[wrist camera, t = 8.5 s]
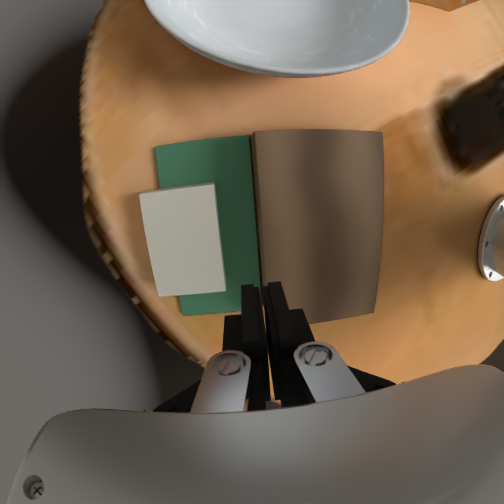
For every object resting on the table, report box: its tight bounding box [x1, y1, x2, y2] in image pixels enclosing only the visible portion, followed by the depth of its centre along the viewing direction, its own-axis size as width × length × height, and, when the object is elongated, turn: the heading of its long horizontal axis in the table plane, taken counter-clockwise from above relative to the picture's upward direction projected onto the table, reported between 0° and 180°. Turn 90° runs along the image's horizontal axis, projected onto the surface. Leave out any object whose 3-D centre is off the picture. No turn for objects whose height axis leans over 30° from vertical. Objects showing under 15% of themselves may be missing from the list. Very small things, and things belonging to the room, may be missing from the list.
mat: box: [155, 135, 262, 316], centre depth 24 cm, size 8×16×1 cm, turn 5°
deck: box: [251, 129, 384, 324], centre depth 23 cm, size 10×16×4 cm, turn 5°
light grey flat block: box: [139, 182, 226, 297], centre depth 23 cm, size 6×9×2 cm, turn 4°
